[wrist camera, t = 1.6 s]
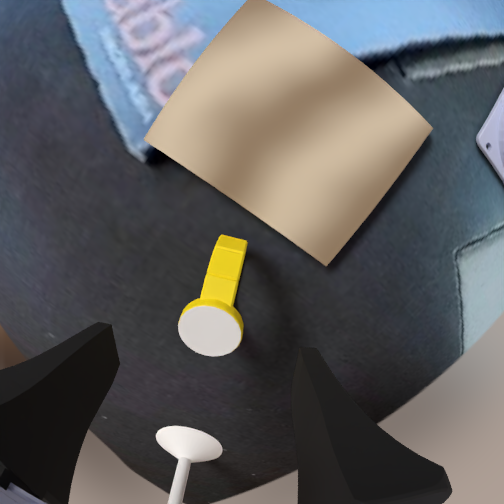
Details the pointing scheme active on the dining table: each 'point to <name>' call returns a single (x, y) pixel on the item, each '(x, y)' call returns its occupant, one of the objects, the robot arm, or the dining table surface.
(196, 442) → the champagne flute
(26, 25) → the dining table surface
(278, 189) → the wooden board
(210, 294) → the watch
